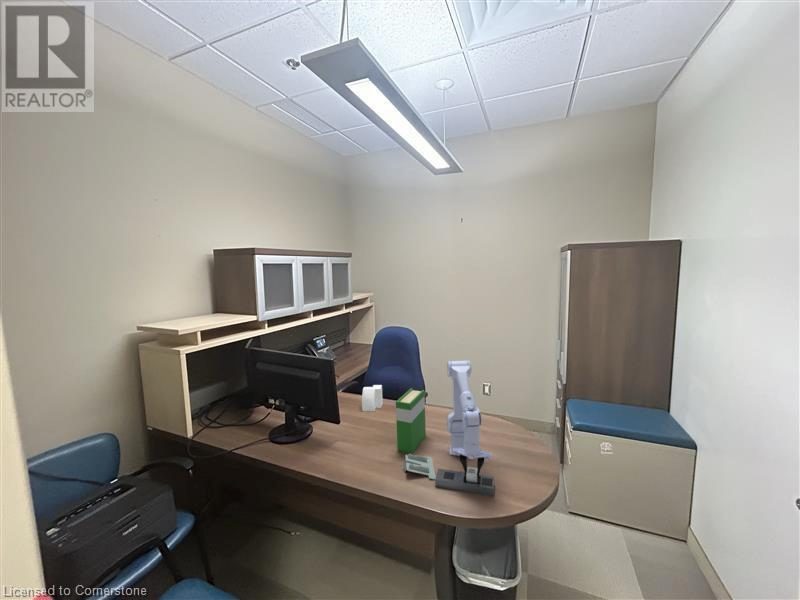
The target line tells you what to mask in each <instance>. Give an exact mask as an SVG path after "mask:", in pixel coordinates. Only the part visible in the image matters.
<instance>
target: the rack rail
mask: <svg viewBox="0 0 800 600" xmlns="http://www.w3.org/2000/svg"><path fill="white" fill-rule="evenodd" d="M435 475H436V478H435V480H434V486H435V487H437V488H443V489H449V490H453V491H454V490H455V491H459V492H465V493H466V492H467V493H470V494H471V493H472V494H476V495H477V494H478V495H483V496H489V497H494V487H495V486H494V485H495V483H494V481H495V480H494V479H495V478H494V476H489V475H483V474H479V476H478V481H477V484H471V483H466V474H465V471H457V470H450V469H443V468H437V471H436V473H435Z"/></svg>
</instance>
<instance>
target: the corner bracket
mask: <svg viewBox="0 0 800 600" xmlns="http://www.w3.org/2000/svg"><path fill="white" fill-rule="evenodd" d="M383 401H384V399H383V385H382V384H373V385H372V386H364V387H363V388H362V394H361V411H362V412H375V411H376V409H382V406H383Z"/></svg>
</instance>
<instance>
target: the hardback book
mask: <svg viewBox="0 0 800 600" xmlns="http://www.w3.org/2000/svg"><path fill="white" fill-rule="evenodd" d="M425 395H426V394H425V389H422V390H421V391H420V390H414V389H413V388H412V387H410V388H409V389H408V390H407V391H406V392H405V393H404V394H402V396H400V397H398V399H397V400H396V401H395V416H396V441H397V443H396V444H397V446H396V447H397V452H402V453H405V454H406V453H407V454H412V455H413V453H414V452H415V450H416V449H417V448H418V446H419V445H420V444H421V442H422V441H423V440H424V438H425V437H426V436H427V433H426V432H427V431H426V430H427V429H426V401H425V400H426V398H425Z"/></svg>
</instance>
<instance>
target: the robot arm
mask: <svg viewBox="0 0 800 600" xmlns="http://www.w3.org/2000/svg"><path fill="white" fill-rule="evenodd" d="M446 372H447V377H448V378H451V381H452V382H451V383H452V385H451V387H452V407H453V408H452V409H453V410H452V412H450V413H449V414H448V415H447V421H446V425H447V426H446V427H447V432H448V433H449V434H450V449H449V453H448V454H449V455H450V456H451V455H452V456H458V458H459V462H460V464H461V465H462V468H463V470H464V471H463V472H464V473H465V474H466V472H467V467H468V459H470V460H474V459H475V458H476V459H477V460H476V461H477V462H476V465H477V467H476V468H478V469H477V476H479V475H480V474H481V473H480V472H481V469H482V467H483V466H484V464H485V459H487V460H488V461H492V452H489V451H486V450H482V449H480V426H482V421H483V420H482V414H481V411H480V409H479V407H478V406H477V402H476V399H475V395H474V394H473V392H471V389H470V388H471V387H470V380H469V377H470V376H471V373H472V364H471V361H470V360H469V359H467V360H448V361H447V363H446Z"/></svg>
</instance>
